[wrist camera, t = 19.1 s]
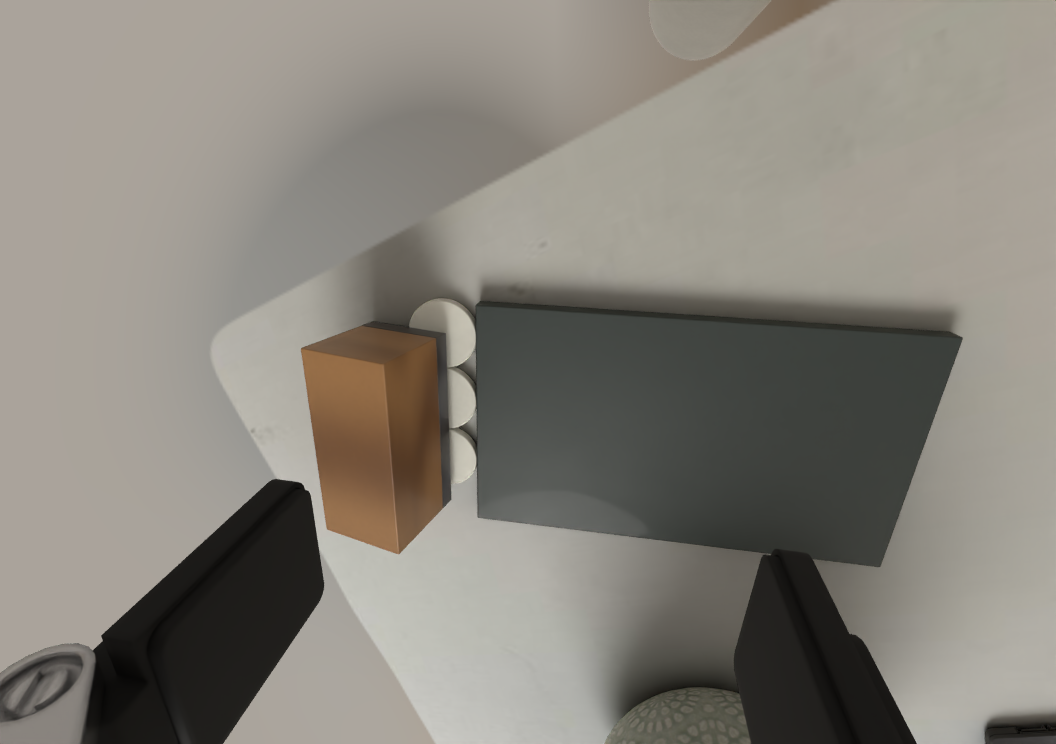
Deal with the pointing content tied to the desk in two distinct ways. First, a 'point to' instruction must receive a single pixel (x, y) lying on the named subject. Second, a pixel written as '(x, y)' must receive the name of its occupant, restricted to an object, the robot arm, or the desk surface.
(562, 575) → the desk surface
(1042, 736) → the solid state drive
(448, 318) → the white disc
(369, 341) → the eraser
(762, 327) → the board
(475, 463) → the white disc
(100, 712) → the robot arm
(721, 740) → the planter
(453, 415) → the white disc
